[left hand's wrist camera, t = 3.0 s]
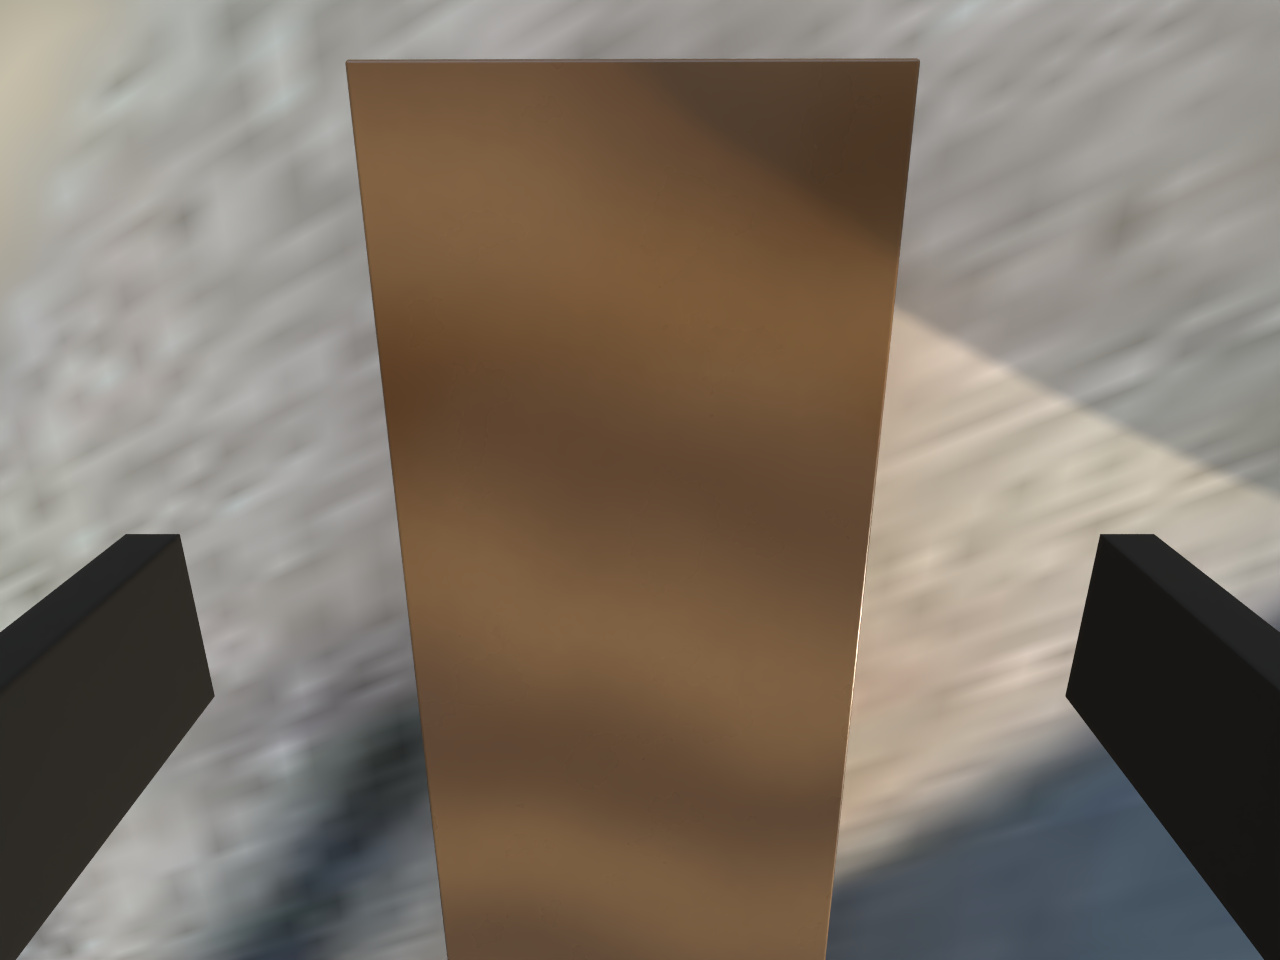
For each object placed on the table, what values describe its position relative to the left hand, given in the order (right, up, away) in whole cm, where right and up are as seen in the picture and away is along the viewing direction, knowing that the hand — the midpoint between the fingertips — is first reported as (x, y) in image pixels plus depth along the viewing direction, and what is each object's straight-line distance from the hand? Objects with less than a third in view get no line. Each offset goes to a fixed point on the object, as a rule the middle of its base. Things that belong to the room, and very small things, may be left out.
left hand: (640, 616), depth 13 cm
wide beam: (0, -27, +23) cm, 36 cm away
